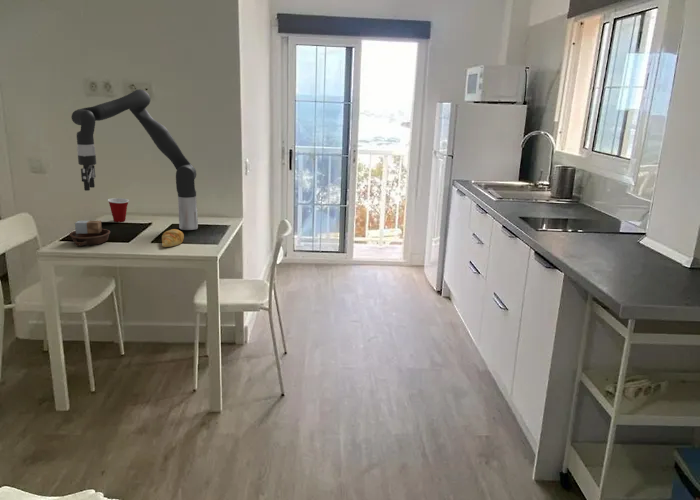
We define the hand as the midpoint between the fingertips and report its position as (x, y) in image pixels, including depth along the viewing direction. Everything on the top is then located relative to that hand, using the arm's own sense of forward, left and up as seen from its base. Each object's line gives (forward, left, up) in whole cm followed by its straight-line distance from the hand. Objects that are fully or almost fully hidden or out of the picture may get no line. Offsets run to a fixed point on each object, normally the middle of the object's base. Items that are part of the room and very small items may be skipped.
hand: (89, 188), depth 262 cm
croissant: (-37, +10, -24) cm, 46 cm away
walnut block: (-2, +6, -20) cm, 20 cm away
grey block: (+3, +6, -20) cm, 21 cm away
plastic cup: (-4, -38, -24) cm, 45 cm away
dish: (0, +6, -25) cm, 25 cm away
